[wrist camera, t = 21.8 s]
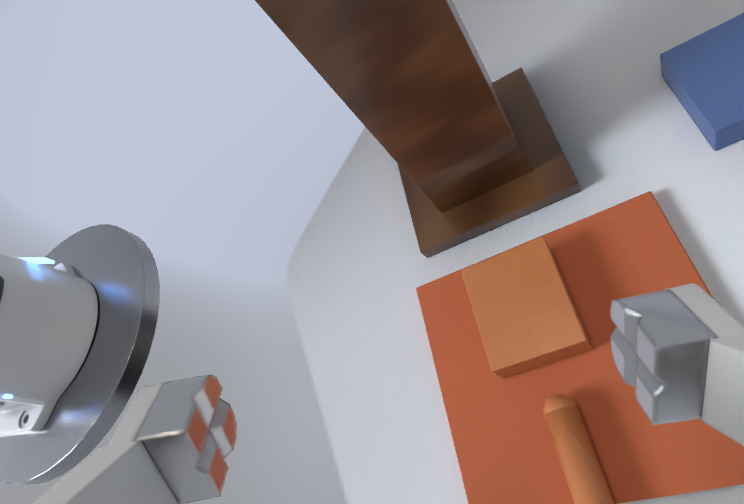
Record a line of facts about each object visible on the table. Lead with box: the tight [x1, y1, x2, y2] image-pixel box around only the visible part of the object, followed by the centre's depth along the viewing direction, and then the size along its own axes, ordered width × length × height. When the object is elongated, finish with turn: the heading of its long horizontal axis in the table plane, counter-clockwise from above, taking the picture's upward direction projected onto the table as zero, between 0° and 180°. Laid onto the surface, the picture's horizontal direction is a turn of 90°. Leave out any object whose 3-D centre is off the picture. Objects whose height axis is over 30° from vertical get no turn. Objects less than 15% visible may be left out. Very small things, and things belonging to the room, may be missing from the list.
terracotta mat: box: [416, 192, 744, 504], centre depth 25 cm, size 14×20×1 cm
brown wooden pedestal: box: [255, 0, 581, 257], centre depth 24 cm, size 10×10×26 cm
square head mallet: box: [461, 236, 615, 504], centre depth 23 cm, size 5×20×2 cm, turn 12°
